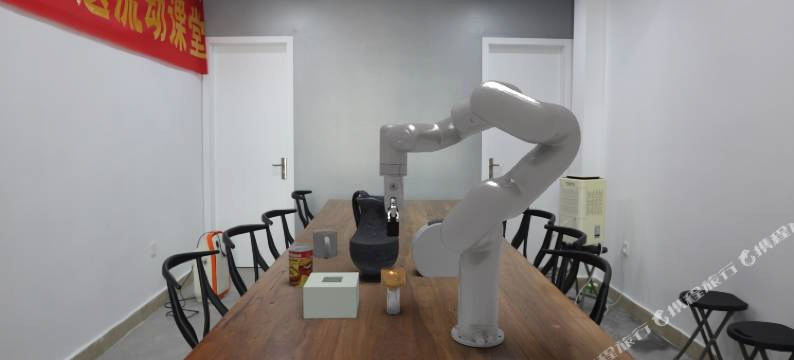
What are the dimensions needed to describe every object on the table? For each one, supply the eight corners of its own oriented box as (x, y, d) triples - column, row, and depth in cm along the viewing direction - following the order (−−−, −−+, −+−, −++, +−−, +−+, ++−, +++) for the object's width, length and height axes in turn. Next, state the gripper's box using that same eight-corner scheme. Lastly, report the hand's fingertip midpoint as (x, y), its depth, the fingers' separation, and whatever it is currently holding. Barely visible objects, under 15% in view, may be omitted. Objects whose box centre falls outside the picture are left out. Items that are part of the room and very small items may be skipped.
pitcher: (368, 288, 150) (368, 195, 148) (334, 274, 166) (333, 190, 164) (409, 278, 161) (409, 192, 159) (373, 266, 177) (373, 187, 175)
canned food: (285, 283, 156) (284, 247, 155) (306, 279, 161) (305, 244, 160) (296, 289, 150) (295, 252, 149) (317, 284, 155) (317, 248, 154)
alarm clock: (468, 270, 172) (469, 217, 170) (472, 276, 164) (473, 220, 163) (410, 271, 171) (411, 217, 169) (412, 277, 164) (412, 221, 162)
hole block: (356, 317, 125) (356, 286, 124) (303, 318, 125) (303, 287, 124) (358, 300, 139) (358, 272, 138) (311, 300, 138) (311, 272, 138)
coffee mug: (315, 252, 201) (314, 229, 200) (338, 251, 201) (338, 229, 200) (310, 259, 187) (310, 235, 187) (335, 259, 188) (335, 235, 187)
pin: (406, 316, 126) (406, 273, 125) (380, 316, 126) (380, 273, 125) (404, 307, 133) (405, 266, 132) (381, 308, 132) (381, 266, 132)
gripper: (408, 172, 118) (407, 239, 119) (405, 168, 135) (404, 227, 136) (379, 172, 118) (378, 239, 119) (379, 168, 135) (379, 226, 136)
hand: (392, 232), depth 128 cm, fingers open, 9 cm apart
